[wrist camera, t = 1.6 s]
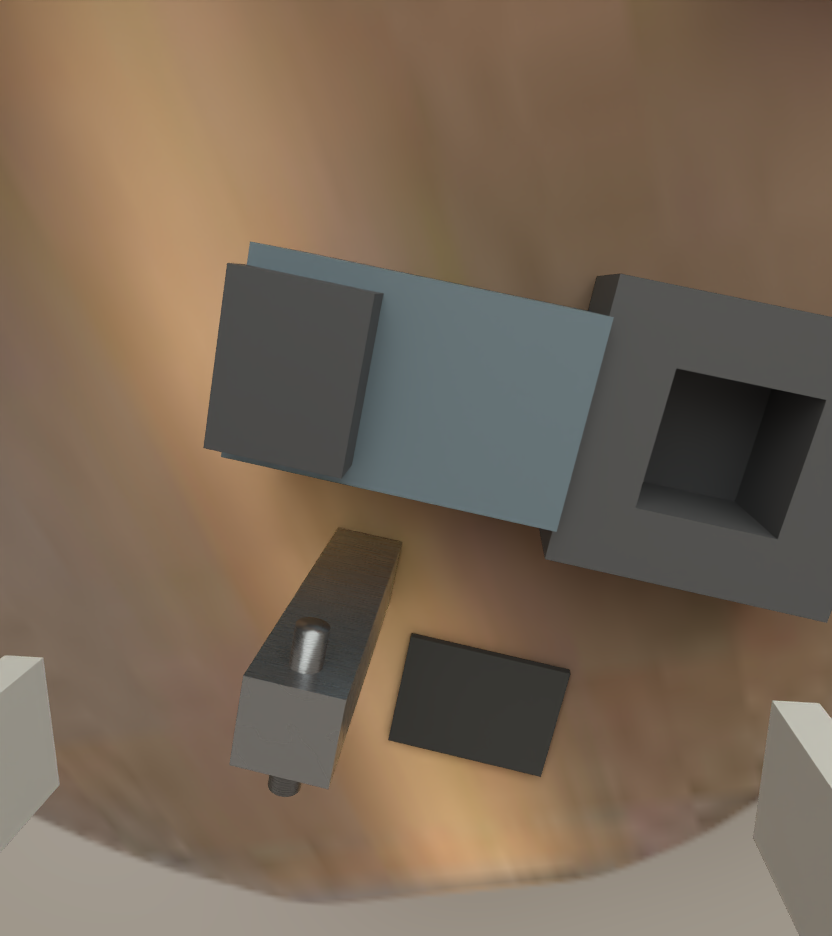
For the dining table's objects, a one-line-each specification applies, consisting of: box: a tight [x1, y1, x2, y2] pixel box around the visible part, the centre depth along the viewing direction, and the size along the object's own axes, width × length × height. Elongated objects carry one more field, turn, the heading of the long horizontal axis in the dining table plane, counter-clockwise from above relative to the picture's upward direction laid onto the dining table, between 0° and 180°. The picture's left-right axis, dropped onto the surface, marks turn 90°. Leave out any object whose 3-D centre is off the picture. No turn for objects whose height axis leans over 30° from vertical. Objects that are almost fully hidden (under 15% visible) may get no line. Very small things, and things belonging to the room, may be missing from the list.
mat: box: [388, 633, 570, 777], centre depth 37 cm, size 8×6×1 cm
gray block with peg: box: [229, 528, 402, 797], centre depth 29 cm, size 3×6×14 cm, turn 168°
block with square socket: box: [204, 242, 832, 623], centre depth 29 cm, size 27×11×9 cm, turn 79°
